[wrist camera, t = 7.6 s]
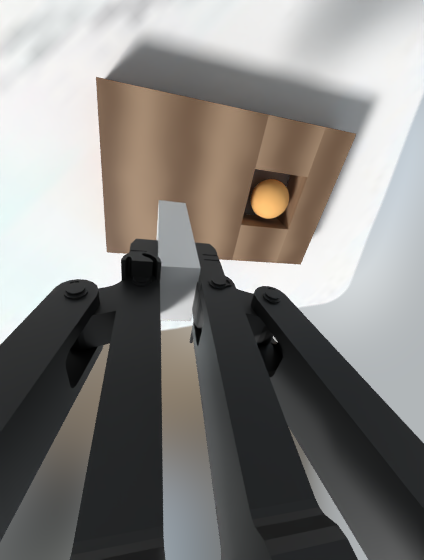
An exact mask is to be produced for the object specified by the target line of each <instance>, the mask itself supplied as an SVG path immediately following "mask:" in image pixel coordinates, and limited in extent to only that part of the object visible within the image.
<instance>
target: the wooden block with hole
mask: <svg viewBox="0 0 424 560" xmlns="http://www.w3.org/2000/svg"><path fill="white" fill-rule="evenodd" d="M96 84H97V101H98V117H99V133H100V149H101V165H102V181H103V197H104V214H105V230H106V246H107V252H111V253H127V254H128V253H129V251H130V245H131V243H132V242H133V241H134V240H135V239H148V240H156V238H157V221H158V204H159V200H162V201H171V202H179V203H186V207H187V211H188V216H189V220H190V224H191V229H192V233H193V237H194V242H195V243H207V244H211V245H212V246H213V247H214V248H215V249H216V252H217V255H218V258H219V259H223V260H239V261H256V262H272V263H288V264H301V262H302V260H303V257H304V255H305V253H306V250H307V248H308V246H309V243H310V241H311V239H312V236H313V234H314V232H315V229H316V227H317V225H318V222H319V220H320V218H321V215H322V213H323V211H324V208H325V206H326V204H327V201H328V199H329V197H330V194H331V192H332V190H333V187H334V185H335V183H336V180H337V178H338V176H339V173H340V171H341V169H342V166H343V164H344V162H345V159H346V157H347V155H348V153H349V150H350V148H351V146H352V143H353V141H354V139H355V136H356V134H355V133H350V132H346V131H341V130H336V129H332V128H327V127H323V126H318V125H314V124H309V123H304V122H300V121H295V120H291V119H286V118H281V117H277V116H272V115H268V114H263V113H259V112H254V111H249V110H245V109H240V108H236V107H231V106H227V105H222V104H217V103H213V102H208V101H204V100H199V99H194V98H190V97H185V96H181V95H176V94H172V93H167V92H162V91H158V90H153V89H149V88H144V87H140V86H135V85H130V84H126V83H121V82H117V81H112V80H108V79H103V78H98V77H96ZM255 169H258V170H265V171H271V172H277V173H284V174H290V177H289V180H288V183H287V186H286V188H287V190H288V192H289V202H288V205H287V207H286V209H285V211H284V212H283V213H282V214H280V215H279V216H277V217H275V218H270V219H267V218H262V217H260V216H258V215H250V214H244V211H245V207H246V204H247V200H248V196H249V192H250V188H251V184H252V180H253V176H254V172H255Z"/></svg>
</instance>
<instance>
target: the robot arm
mask: <svg viewBox="0 0 424 560" xmlns="http://www.w3.org/2000/svg"><path fill="white" fill-rule="evenodd" d="M121 269H122V281H121V282H119V283H118V284H115V285H113V286H109V287H105V288H99V289H98V287H97V285H96V284H94V283H93V282H91V281H88V280H80V279H76V280H70V281H66V282H64V283H61V284H60V285H58V286H57V287H56V288H54V289H53V291H52V292H51V293H50V294H49V295H48V296H47V297H46V298H45V299H44V300H43V301H42V302H41V303H40V304H39V305H38V306H37V307H36V308H35V309H34V310H33V311H32V312H31V313H30V315H29V316H28V317H27V318H26V319H25V320H24V321H23V322H22V323H21V324H20V325H19V326H18V327H17V328H16V329H15V330H14V331H13V332H12V333H11V334H10V335H9V336H8V338H7V339H6V340H5V341H4V342H3V343H2V344H1V345H0V541H1V539H2V538H3V536H4V534H5V532H6V530H7V528H8V526H9V524H10V522H11V520H12V518H13V517H14V515H15V513H16V511H17V509H18V507H19V505H20V504H21V502H22V500H23V498H24V496H25V494H26V492H27V490H28V488H29V486H30V485H31V483H32V481H33V479H34V477H35V475H36V473H37V471H38V470H39V468H40V466H41V464H42V462H43V460H44V458H45V456H46V454H47V453H48V451H49V449H50V447H51V445H52V443H53V441H54V439H55V437H56V436H57V434H58V432H59V430H60V428H61V426H62V424H63V422H64V420H65V418H66V417H67V415H68V413H69V411H70V409H71V407H72V405H73V403H74V402H75V400H76V398H77V396H78V394H79V392H80V390H81V388H82V386H83V385H84V383H85V381H86V379H87V377H88V375H89V373H90V371H91V369H92V367H93V366H94V364H95V362H96V360H97V358H98V356H99V354H100V352H101V350H102V348H103V345H105V344H108V343H110V348H109V352H108V358H107V363H106V369H105V374H104V381H103V385H102V391H101V396H100V402H99V407H98V412H97V418H96V423H95V429H94V435H93V440H92V446H91V451H90V456H89V462H88V467H87V473H86V478H85V483H84V489H83V494H82V500H81V505H80V511H79V517H78V522H77V527H76V532H75V538H74V543H73V548H72V553H71V557H70V560H165V552H164V539H163V485H162V484H163V482H162V481H163V480H162V479H163V477H162V402H161V399H162V398H161V321H191V318H192V313H193V319H194V322H193V327H192V333H191V337H190V343H192V342H193V341H194V349H195V356H196V364H197V371H198V379H199V386H200V394H201V401H202V409H203V416H204V424H205V431H206V438H207V446H208V454H209V461H210V469H211V476H212V484H213V491H214V498H215V505H216V514H217V521H218V529H219V536H220V545H221V560H358V559H357V557H356V555H355V553H354V551H353V549H352V547H351V545H350V543H349V541H348V539H347V537H346V536H345V535H344V533H343V532H342V531H341V529H340V528H339V526H338V525H337V524H336V523H334V522H333V521H332V520H331V519H329V518H328V517H327V516H326V515H325V514H324V513H323V512H322V510H321V509H320V507H319V505H318V503H317V501H316V499H315V497H314V494H313V491H312V489H311V486H310V483H309V481H308V478H307V475H306V473H305V470H304V468H303V465H302V462H301V460H300V457H299V454H298V451H297V449H296V446H295V444H294V441H293V438H292V436H291V433H290V430H291V431H292V433H293V435H294V436H295V438H296V440H297V441H298V443H299V445H300V446H301V448H302V450H303V451H304V453H305V455H306V456H307V458H308V460H309V461H310V463H311V465H312V466H313V468H314V469H315V471H316V473H317V475H318V476H319V478H320V480H321V481H322V483H323V485H324V486H325V488H326V490H327V491H328V493H329V495H330V496H331V498H332V500H333V501H334V503H335V505H336V506H337V508H338V510H339V511H340V513H341V515H342V516H343V518H344V519H345V521H346V523H347V524H348V526H349V528H350V530H351V531H352V533H353V535H354V536H355V538H356V540H357V541H358V543H359V545H360V546H361V548H362V549H363V551H364V553H365V554H366V556H367V558H368V560H424V443H423V442H422V441H421V440H420V439H419V438H418V437H417V436H416V435H415V434H414V433H413V432H412V430H411V429H410V428H409V427H408V426H407V425H406V424H405V423H404V422H403V421H402V420H401V419H400V418H399V417H398V415H397V414H396V413H395V412H394V411H393V410H392V409H391V408H390V407H389V406H388V405H387V404H386V403H385V402H384V401H383V399H382V398H381V397H380V396H379V395H378V394H377V393H376V392H375V391H374V390H373V389H372V388H371V386H370V385H369V384H368V383H367V382H366V381H365V380H364V379H363V378H362V377H361V376H360V375H359V374H358V372H357V371H356V370H355V369H354V368H353V367H352V366H351V365H350V364H349V363H348V362H347V361H346V360H345V359H344V358H343V356H342V355H341V354H340V353H339V352H338V351H337V350H336V349H335V348H334V347H333V346H332V345H331V344H330V342H329V341H328V340H327V339H326V338H325V337H324V336H323V335H322V334H321V333H320V332H319V331H318V330H317V328H316V327H315V326H314V325H313V324H312V323H311V322H310V321H309V320H308V319H307V318H306V317H305V316H304V315H303V313H302V312H301V311H300V310H299V309H298V308H297V307H296V306H295V305H294V304H293V303H292V302H291V301H290V299H289V298H288V297H287V296H286V295H285V294H284V293H282V292H281V291H280V290H278V289H276V288H273V287H269V286H262V287H259V288H257V289H256V290H255V292H254V294H252V293H248V292H244V291H241V290H238V289H236V287H235V284H234V283H233V281H232V280H231V279H229V278H228V277H226V276H225V275H224V272H223V269H222V266H221V263H220V261H219V258H218V255H217V252H216V249H215V248H214V247H213V246H212V245H211V244H207V243H195V242H194V237H193V233H192V229H191V224H190V220H189V216H188V211H187V207H186V203H179V202H171V201H162V200H159V204H158V221H157V238H156V240H148V239H135V240H134V241H133V242H132V243H131V245H130V251H129V253H128V254H126V255H125V256H123V258H122V259H121ZM273 336H274V337H275V338H276V340H277V341H278V342H276V341H275V340H274V339H273V338H272V337H273ZM288 426H289V428H290V430H289V428H288Z"/></svg>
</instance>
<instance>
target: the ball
mask: <svg viewBox="0 0 424 560" xmlns="http://www.w3.org/2000/svg"><path fill="white" fill-rule="evenodd" d="M250 202H251V207H252V209H253V211H254V212H255V213H256V214H257V215H258V216H260V217H262V218H267V219H270V218H275V217H277V216H279V215H280V214H282V213H283V212H284V211H285V209H286V207H287V205H288V202H289V192H288V190H287V188H286V186H285V185H284V184H283V183H282V182H280V181H278V180H276V179H267V180H263V181H261V182H260V183H258V184H257V185H256V186H255V188H254V189H253V191H252V193H251V198H250Z"/></svg>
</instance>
